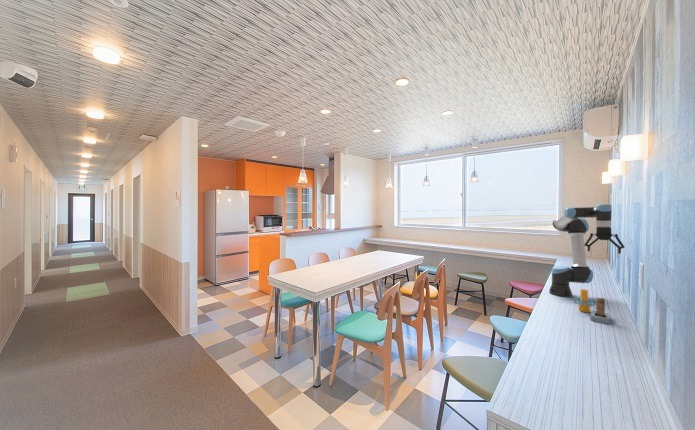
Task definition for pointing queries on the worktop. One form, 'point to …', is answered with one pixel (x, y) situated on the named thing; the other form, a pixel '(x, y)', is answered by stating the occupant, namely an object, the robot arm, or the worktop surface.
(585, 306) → the yellow and blue toy
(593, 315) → the socket plate
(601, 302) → the peg
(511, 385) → the worktop surface
